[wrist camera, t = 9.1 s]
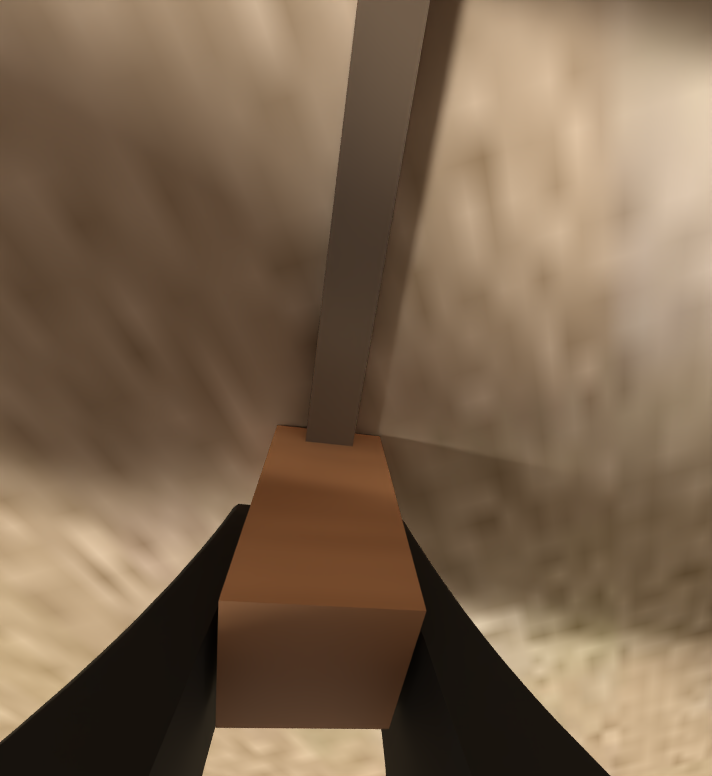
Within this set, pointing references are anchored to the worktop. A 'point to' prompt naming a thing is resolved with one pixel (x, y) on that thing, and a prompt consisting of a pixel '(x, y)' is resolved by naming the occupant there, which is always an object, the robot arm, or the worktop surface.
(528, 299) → the worktop surface
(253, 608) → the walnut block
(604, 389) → the worktop surface
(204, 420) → the worktop surface
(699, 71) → the worktop surface
